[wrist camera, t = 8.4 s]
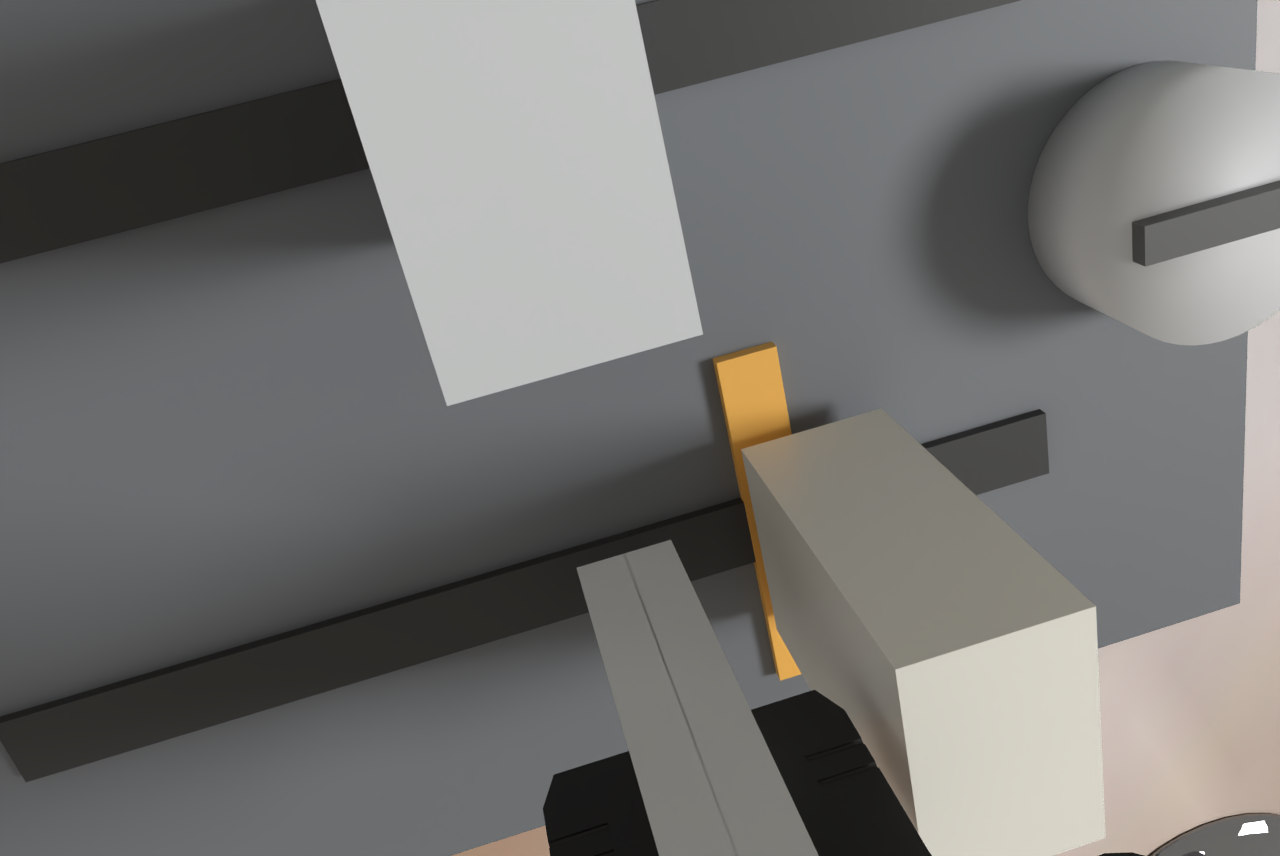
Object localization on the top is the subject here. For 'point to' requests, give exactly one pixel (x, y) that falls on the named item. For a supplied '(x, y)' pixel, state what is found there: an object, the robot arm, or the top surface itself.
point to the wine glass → (1229, 838)
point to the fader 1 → (518, 181)
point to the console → (569, 389)
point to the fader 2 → (934, 637)
